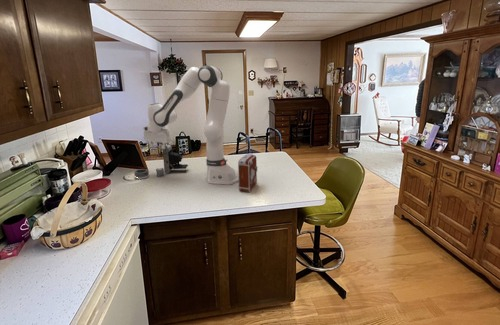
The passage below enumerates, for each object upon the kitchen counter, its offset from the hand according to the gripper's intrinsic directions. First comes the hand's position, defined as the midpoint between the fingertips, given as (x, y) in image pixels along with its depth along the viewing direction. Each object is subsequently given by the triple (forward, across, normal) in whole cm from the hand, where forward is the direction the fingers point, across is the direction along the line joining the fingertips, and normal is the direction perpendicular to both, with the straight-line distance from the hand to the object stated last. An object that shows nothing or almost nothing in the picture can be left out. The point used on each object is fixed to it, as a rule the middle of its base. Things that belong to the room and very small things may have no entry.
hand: (158, 148), depth 194 cm
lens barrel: (+20, +9, +8) cm, 23 cm away
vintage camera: (+20, -5, -12) cm, 24 cm away
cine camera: (+18, -66, -6) cm, 69 cm away
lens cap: (+20, 0, 0) cm, 20 cm away
